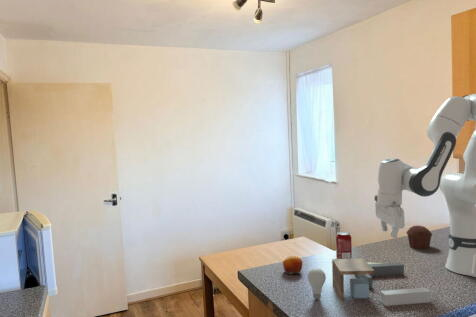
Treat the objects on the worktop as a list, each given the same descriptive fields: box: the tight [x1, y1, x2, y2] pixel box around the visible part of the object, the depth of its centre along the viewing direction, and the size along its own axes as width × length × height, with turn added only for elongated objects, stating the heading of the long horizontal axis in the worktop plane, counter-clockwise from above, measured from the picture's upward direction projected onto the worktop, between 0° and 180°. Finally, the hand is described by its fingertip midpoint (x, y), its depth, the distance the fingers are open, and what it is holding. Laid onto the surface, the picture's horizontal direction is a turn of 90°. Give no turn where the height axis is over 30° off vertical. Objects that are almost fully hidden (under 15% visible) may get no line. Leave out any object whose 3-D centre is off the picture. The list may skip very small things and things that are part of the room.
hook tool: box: [354, 261, 405, 289], centre depth 139 cm, size 19×13×4 cm
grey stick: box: [380, 287, 432, 307], centre depth 120 cm, size 16×3×4 cm, turn 96°
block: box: [349, 277, 370, 299], centre depth 126 cm, size 5×5×5 cm
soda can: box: [335, 230, 353, 259], centre depth 163 cm, size 7×7×12 cm
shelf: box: [331, 258, 375, 301], centre depth 128 cm, size 12×12×10 cm
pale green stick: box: [366, 261, 382, 264], centre depth 154 cm, size 14×2×2 cm, turn 73°
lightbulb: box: [307, 267, 327, 301], centre depth 124 cm, size 6×6×11 cm
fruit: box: [282, 255, 303, 276], centre depth 149 cm, size 8×8×8 cm
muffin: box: [406, 225, 433, 250], centre depth 177 cm, size 12×11×10 cm
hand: (389, 234), depth 143 cm, fingers open, 8 cm apart
